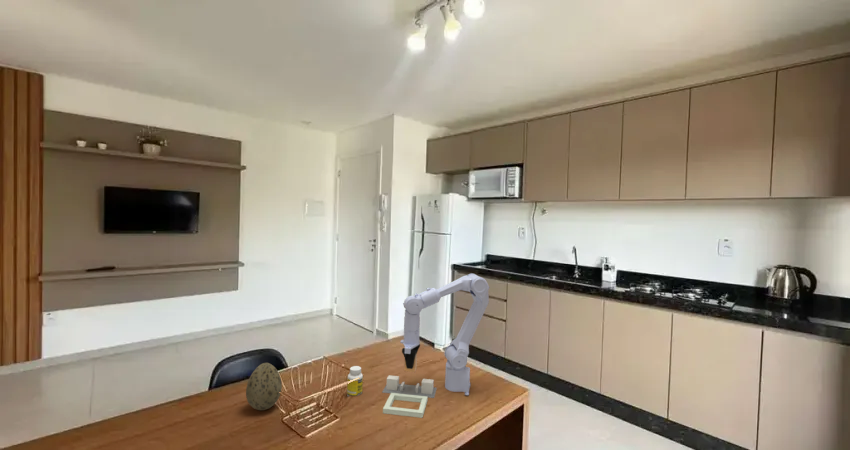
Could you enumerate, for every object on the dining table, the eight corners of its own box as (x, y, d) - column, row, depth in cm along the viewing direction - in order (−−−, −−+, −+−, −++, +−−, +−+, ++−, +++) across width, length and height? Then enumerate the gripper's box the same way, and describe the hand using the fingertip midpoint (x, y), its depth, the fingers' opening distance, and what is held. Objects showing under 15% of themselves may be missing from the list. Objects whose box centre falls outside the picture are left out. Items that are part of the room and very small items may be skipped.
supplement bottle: (359, 399, 130) (359, 372, 130) (344, 397, 131) (345, 370, 131) (364, 392, 135) (365, 366, 135) (350, 390, 136) (351, 364, 136)
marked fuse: (416, 368, 137) (417, 352, 137) (415, 372, 134) (415, 355, 134) (406, 367, 138) (406, 351, 138) (404, 371, 135) (404, 354, 135)
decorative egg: (285, 410, 121) (286, 365, 121) (249, 420, 115) (250, 372, 114) (276, 397, 130) (277, 354, 130) (242, 406, 123) (243, 361, 123)
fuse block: (436, 390, 139) (437, 377, 139) (434, 400, 131) (434, 386, 131) (387, 385, 142) (387, 372, 142) (381, 395, 134) (382, 381, 134)
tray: (427, 403, 129) (427, 396, 129) (422, 420, 118) (422, 413, 118) (390, 399, 131) (391, 392, 131) (382, 416, 120) (382, 408, 120)
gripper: (405, 323, 144) (404, 357, 144) (396, 334, 129) (395, 373, 130) (423, 324, 142) (422, 359, 143) (416, 336, 128) (415, 375, 128)
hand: (410, 366), depth 136 cm, fingers closed on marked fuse, 3 cm apart
